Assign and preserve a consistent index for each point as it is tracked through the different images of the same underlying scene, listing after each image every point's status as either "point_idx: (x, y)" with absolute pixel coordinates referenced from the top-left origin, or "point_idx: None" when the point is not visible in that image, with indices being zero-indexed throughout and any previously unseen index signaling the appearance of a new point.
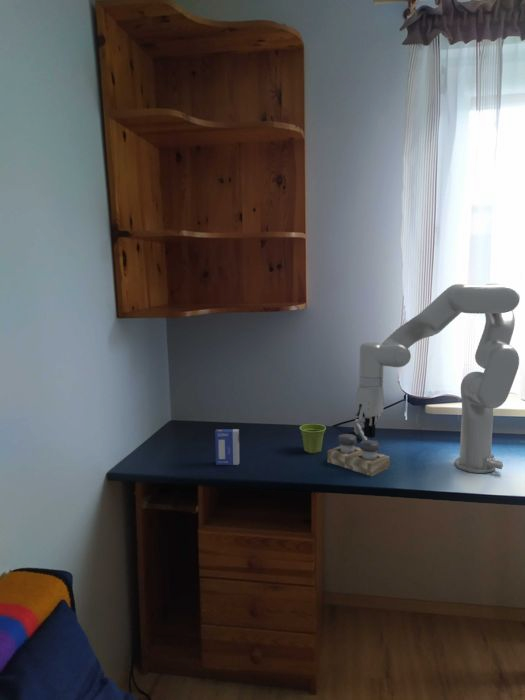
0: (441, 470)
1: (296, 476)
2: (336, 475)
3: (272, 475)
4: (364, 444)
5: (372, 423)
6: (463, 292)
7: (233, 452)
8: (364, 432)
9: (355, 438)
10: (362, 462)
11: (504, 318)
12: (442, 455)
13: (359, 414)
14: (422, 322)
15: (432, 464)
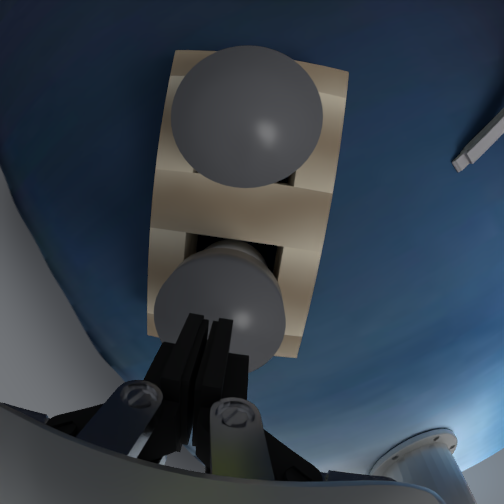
0: (358, 437)
1: (19, 97)
2: (86, 192)
3: (4, 49)
4: (162, 311)
5: (196, 454)
6: None
7: None
8: (184, 329)
9: (248, 187)
10: (148, 284)
11: None
12: (473, 386)
13: (26, 428)
14: None
15: (397, 406)
